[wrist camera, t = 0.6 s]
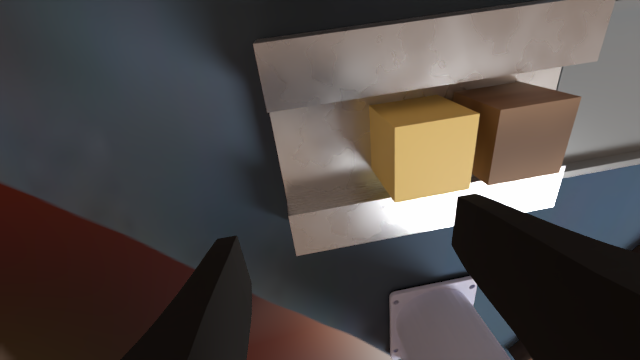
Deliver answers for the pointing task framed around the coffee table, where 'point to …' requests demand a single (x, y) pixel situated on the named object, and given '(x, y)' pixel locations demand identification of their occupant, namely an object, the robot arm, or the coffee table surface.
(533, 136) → the walnut cube
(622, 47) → the tray
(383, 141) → the mustard cube
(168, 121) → the coffee table surface
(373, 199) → the channel
